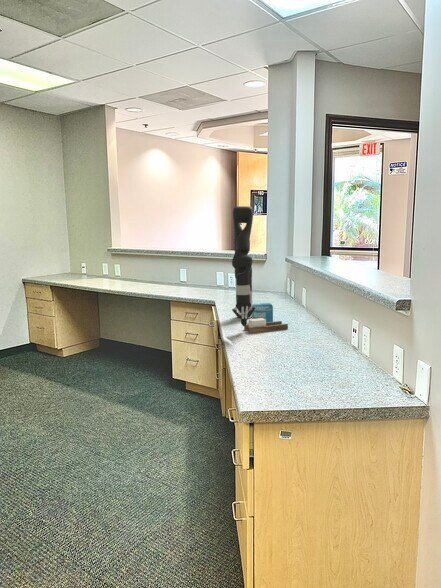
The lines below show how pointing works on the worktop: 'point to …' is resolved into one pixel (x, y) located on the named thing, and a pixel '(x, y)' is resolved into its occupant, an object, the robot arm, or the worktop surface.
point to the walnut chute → (267, 327)
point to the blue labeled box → (263, 311)
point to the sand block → (257, 322)
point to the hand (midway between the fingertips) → (243, 325)
